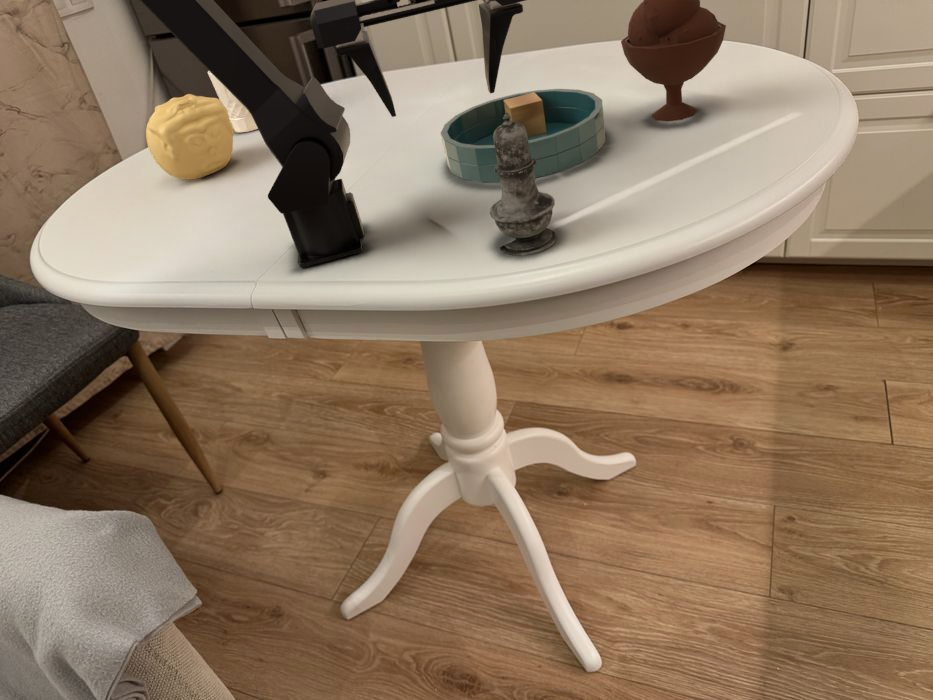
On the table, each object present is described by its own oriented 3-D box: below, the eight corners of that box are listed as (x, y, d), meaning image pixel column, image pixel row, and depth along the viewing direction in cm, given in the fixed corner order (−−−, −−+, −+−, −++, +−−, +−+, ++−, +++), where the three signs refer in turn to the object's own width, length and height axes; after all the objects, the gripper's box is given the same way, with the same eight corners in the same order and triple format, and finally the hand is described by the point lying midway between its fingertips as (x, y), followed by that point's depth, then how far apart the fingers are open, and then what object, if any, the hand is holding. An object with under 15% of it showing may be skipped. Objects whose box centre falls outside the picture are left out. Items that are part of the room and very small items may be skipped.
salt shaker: (488, 239, 66) (462, 114, 59) (545, 220, 67) (526, 95, 60) (509, 264, 61) (483, 131, 54) (570, 243, 62) (552, 110, 55)
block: (515, 140, 85) (510, 108, 82) (508, 131, 88) (503, 99, 86) (546, 132, 85) (542, 100, 82) (538, 123, 88) (534, 91, 86)
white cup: (223, 136, 117) (198, 76, 111) (245, 120, 123) (222, 62, 117) (263, 131, 114) (239, 69, 109) (283, 115, 120) (262, 55, 115)
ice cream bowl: (744, 113, 79) (749, -34, 70) (660, 143, 76) (654, -5, 68) (687, 96, 87) (684, -38, 78) (609, 122, 85) (599, -12, 76)
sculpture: (188, 192, 96) (152, 115, 90) (152, 181, 104) (118, 109, 98) (256, 160, 102) (228, 85, 96) (218, 151, 110) (189, 82, 104)
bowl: (463, 202, 74) (455, 162, 71) (439, 149, 89) (431, 115, 87) (629, 158, 75) (627, 117, 72) (577, 113, 90) (573, 78, 87)
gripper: (497, -121, 61) (522, 62, 70) (292, -73, 61) (343, 105, 70) (525, -123, 52) (549, 88, 61) (283, -66, 52) (343, 137, 61)
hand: (442, 103), depth 63 cm, fingers open, 9 cm apart
